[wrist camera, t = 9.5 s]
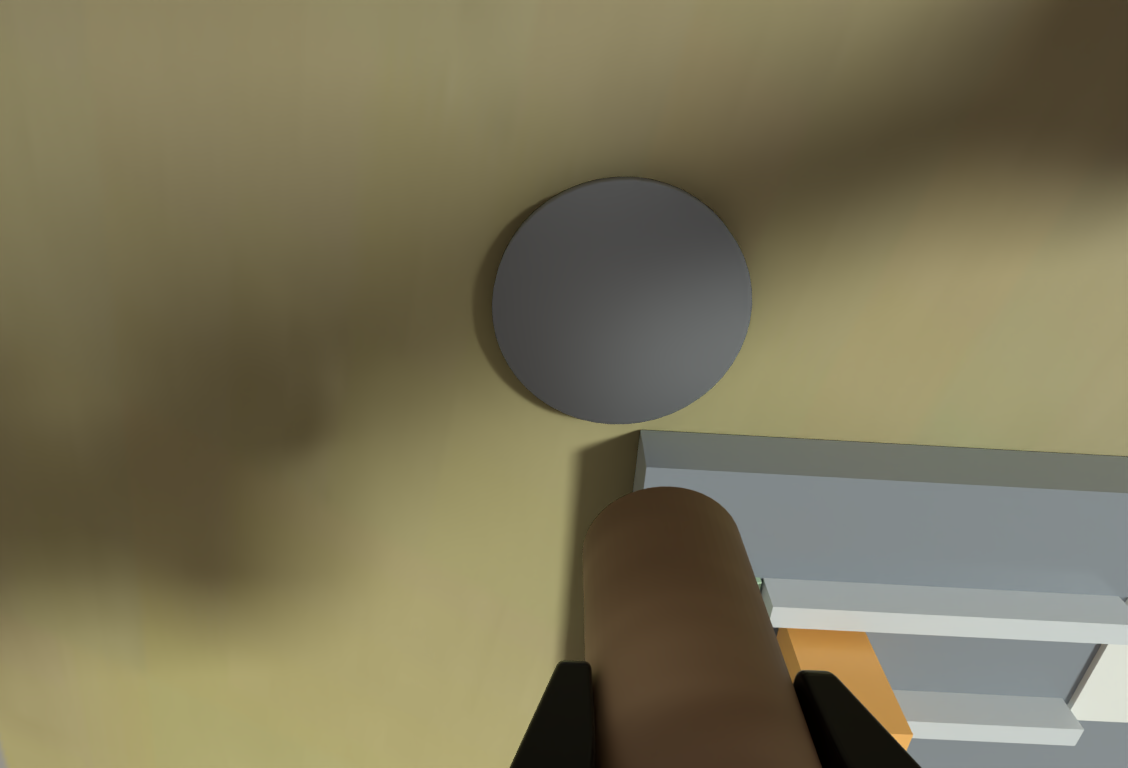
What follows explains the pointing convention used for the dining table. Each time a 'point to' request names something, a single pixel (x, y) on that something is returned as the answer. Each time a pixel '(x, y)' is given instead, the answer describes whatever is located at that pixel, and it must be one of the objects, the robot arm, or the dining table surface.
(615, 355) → the pad
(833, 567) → the panel
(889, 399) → the dining table surface
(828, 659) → the orange rectangular block
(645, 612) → the dowel
